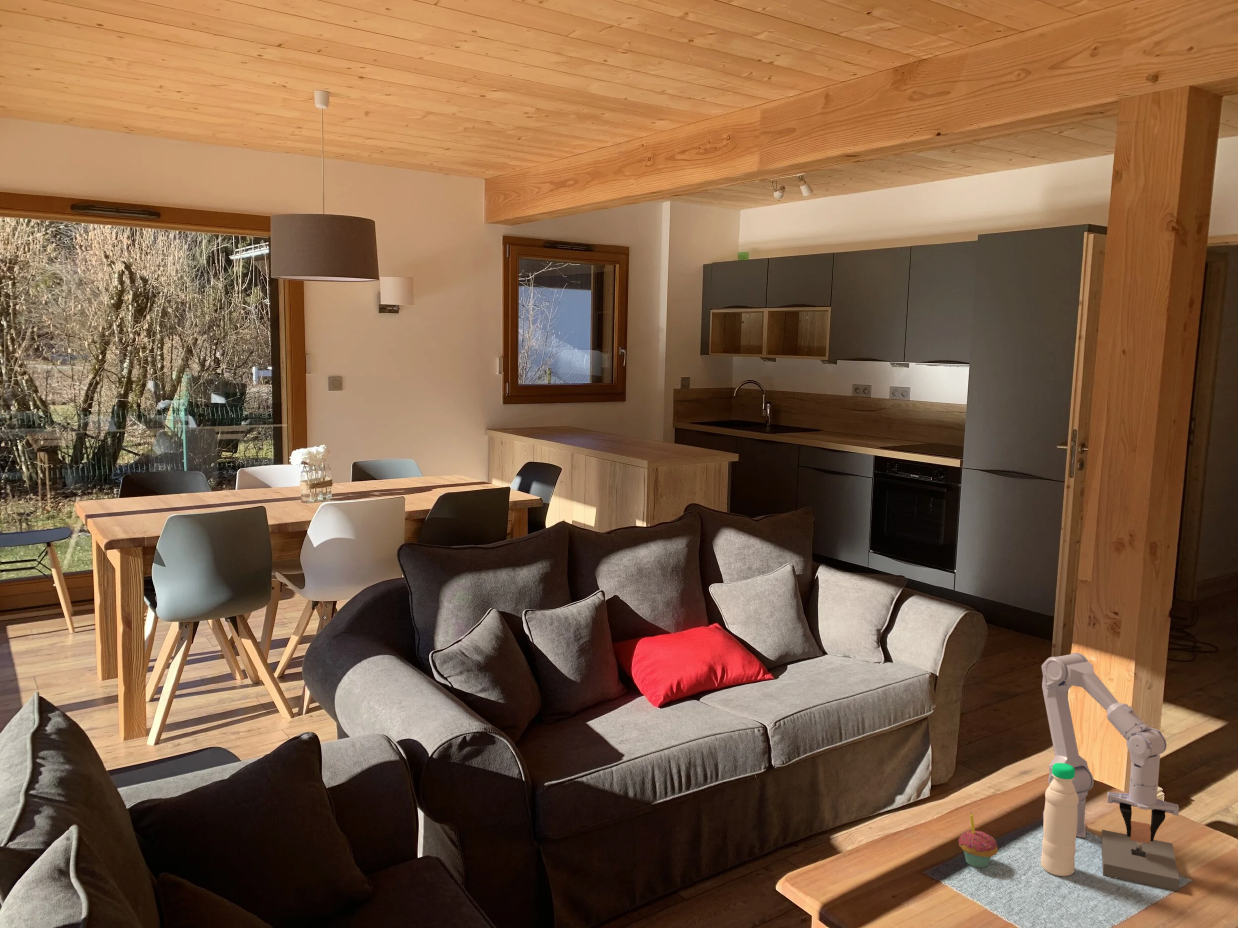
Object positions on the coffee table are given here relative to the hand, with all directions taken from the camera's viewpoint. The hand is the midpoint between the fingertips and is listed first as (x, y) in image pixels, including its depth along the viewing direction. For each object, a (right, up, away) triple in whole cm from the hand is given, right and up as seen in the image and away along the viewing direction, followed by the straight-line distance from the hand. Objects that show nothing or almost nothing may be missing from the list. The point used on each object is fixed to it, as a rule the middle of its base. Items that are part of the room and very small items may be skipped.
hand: (1139, 837), depth 223 cm
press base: (0, -7, +1) cm, 7 cm away
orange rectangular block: (0, -4, 0) cm, 4 cm away
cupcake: (-38, -6, +1) cm, 38 cm away
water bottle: (-20, -7, -2) cm, 21 cm away
